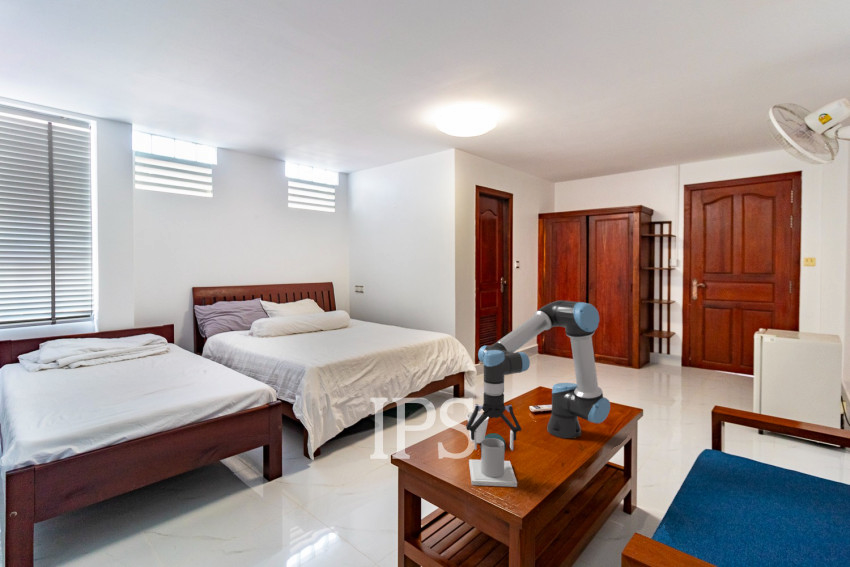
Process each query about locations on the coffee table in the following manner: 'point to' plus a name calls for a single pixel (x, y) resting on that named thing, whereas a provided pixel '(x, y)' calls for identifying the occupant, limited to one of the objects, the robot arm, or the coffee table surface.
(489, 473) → the mug
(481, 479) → the plate
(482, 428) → the cup
